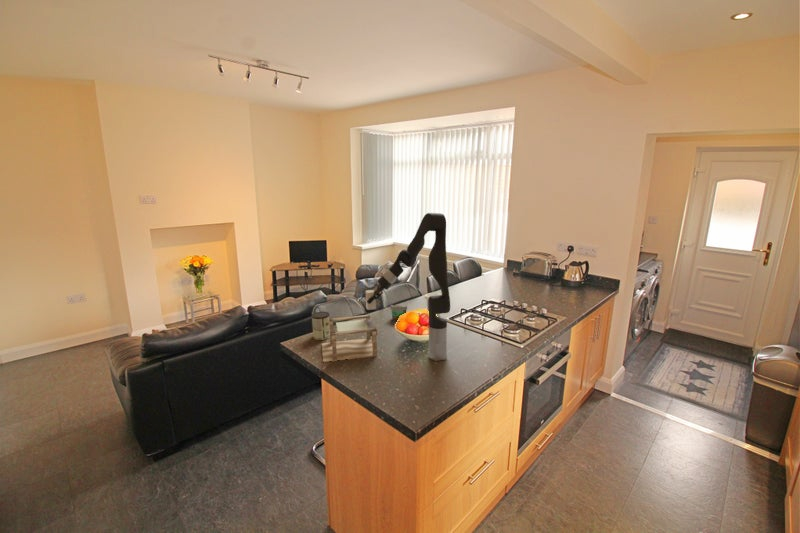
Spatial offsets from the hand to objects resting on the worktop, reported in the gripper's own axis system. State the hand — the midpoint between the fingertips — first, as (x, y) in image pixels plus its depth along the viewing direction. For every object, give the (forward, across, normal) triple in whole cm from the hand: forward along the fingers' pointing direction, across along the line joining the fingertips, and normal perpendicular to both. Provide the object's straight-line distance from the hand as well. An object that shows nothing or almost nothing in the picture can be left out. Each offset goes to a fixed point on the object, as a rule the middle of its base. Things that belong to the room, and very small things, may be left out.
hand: (367, 301), depth 207 cm
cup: (-18, -28, +52) cm, 61 cm away
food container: (+1, -28, +33) cm, 43 cm away
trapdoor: (+16, +10, +4) cm, 19 cm away
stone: (+2, 0, +4) cm, 5 cm away
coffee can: (+36, -13, -2) cm, 38 cm away
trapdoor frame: (+26, +10, +8) cm, 29 cm away
